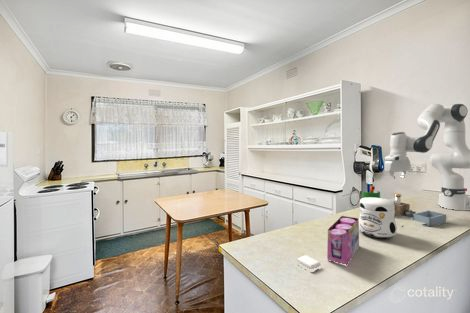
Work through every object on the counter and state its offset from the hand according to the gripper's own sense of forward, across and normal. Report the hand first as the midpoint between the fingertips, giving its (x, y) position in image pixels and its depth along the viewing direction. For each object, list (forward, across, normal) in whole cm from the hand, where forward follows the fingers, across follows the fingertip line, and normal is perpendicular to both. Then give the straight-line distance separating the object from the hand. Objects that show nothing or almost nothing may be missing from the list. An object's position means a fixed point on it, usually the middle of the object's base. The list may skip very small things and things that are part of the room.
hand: (397, 178), depth 151 cm
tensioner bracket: (+24, 0, +3) cm, 24 cm away
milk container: (+25, +41, +16) cm, 50 cm away
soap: (+26, +93, +26) cm, 100 cm away
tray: (+24, -1, +17) cm, 30 cm away
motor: (+24, +15, -7) cm, 29 cm away
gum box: (+26, +72, +25) cm, 80 cm away
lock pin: (+23, 0, 0) cm, 23 cm away
